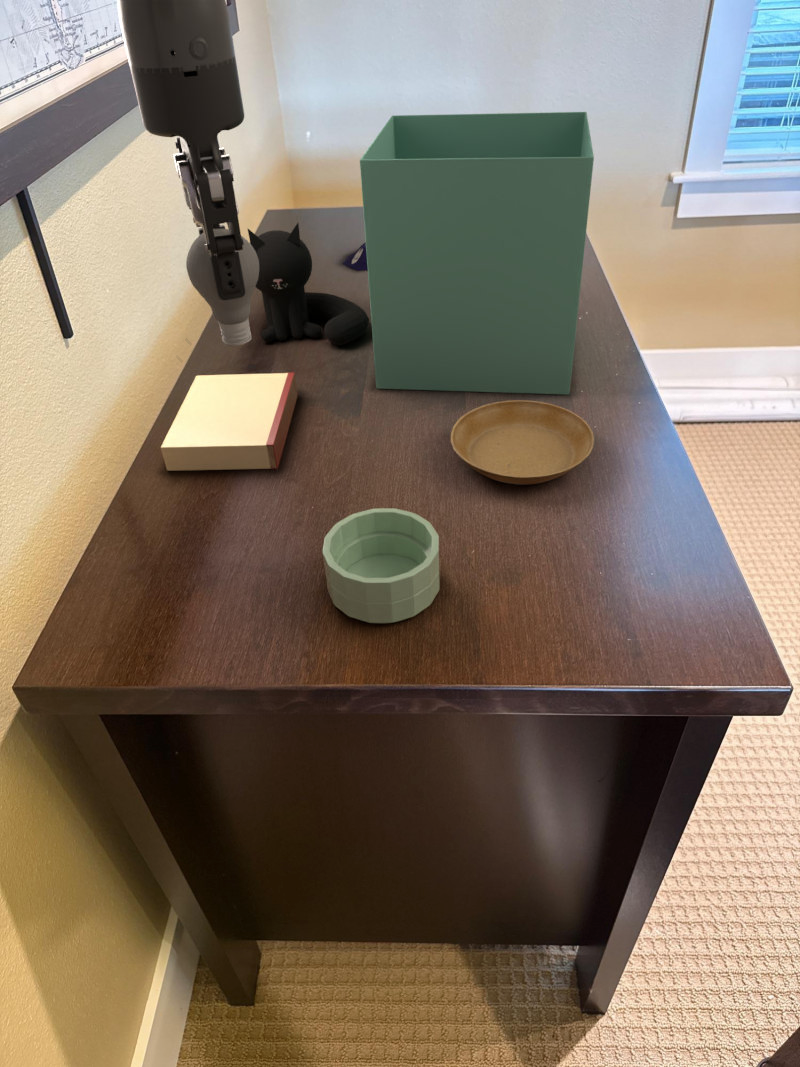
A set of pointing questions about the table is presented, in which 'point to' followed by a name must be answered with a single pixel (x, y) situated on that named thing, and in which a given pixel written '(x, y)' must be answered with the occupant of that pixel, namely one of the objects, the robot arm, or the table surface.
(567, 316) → the box
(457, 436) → the plant saucer
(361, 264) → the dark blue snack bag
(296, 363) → the table surface
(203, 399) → the book
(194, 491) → the table surface
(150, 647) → the table surface
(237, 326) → the light bulb
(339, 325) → the figurine
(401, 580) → the bowl
